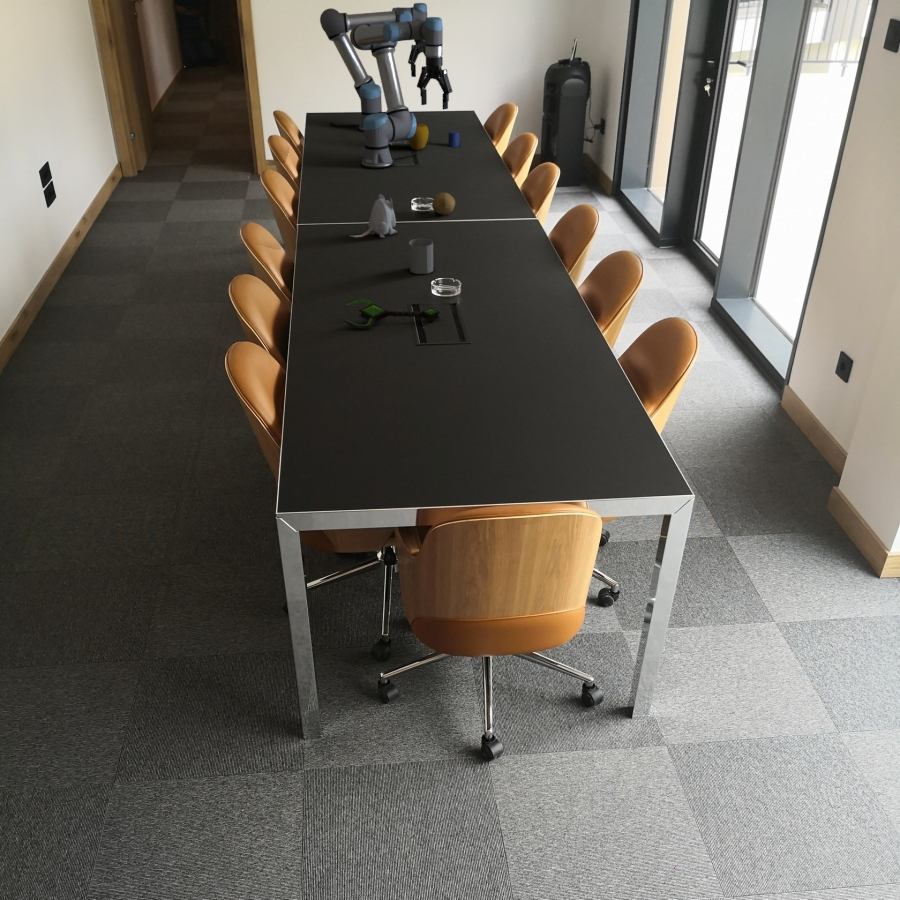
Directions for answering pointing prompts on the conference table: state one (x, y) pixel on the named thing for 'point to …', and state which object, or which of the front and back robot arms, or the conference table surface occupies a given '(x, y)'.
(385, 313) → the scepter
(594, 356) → the conference table surface
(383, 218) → the toy
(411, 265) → the cup
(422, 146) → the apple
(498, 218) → the conference table surface
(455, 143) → the canister
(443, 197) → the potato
